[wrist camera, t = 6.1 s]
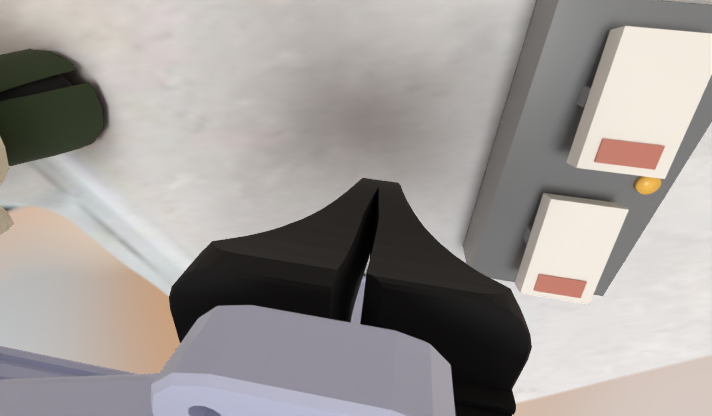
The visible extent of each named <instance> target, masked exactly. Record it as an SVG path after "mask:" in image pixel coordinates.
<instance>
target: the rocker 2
mask: <svg viewBox="0 0 712 416" xmlns="http://www.w3.org/2000/svg"><path fill="white" fill-rule="evenodd" d="M711 75H712V34H711V33H700V32H688V31H677V30H666V29H655V28H643V27H632V26H623V27H619V28H615V29H611V30H610V32H609V35H608V38H607V41H606V45H605V48H604V51H603V54H602V57H601V60H600V63H599V66H598V69H597V72H596V75H595V78H594V81H593V84H592V87H591V90H590V93H589V96H588V99H587V102H586V105H585V108H584V111H583V114H582V117H581V120H580V123H579V126H578V129H577V132H576V135H575V138H574V141H573V144H572V147H571V150H570V153H569V156H568V159H567V162H566V163H568V164H570V165H572V166H574V167H576V168H582V169H590V170H597V171H605V172H613V173H621V174H629V175H637V176H645V177H653V178H661V179H665V178H666V176H667V173H668V171H669V169H670V167H671V164H672V162H673V160H674V158H675V155H676V153H677V151H678V149H679V146H680V144H681V142H682V140H683V138H684V135H685V133H686V131H687V129H688V126H689V124H690V122H691V120H692V117H693V115H694V113H695V111H696V108H697V106H698V104H699V102H700V100H701V97H702V95H703V93H704V91H705V88H706V86H707V84H708V82H709V79H710V77H711Z"/></svg>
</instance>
